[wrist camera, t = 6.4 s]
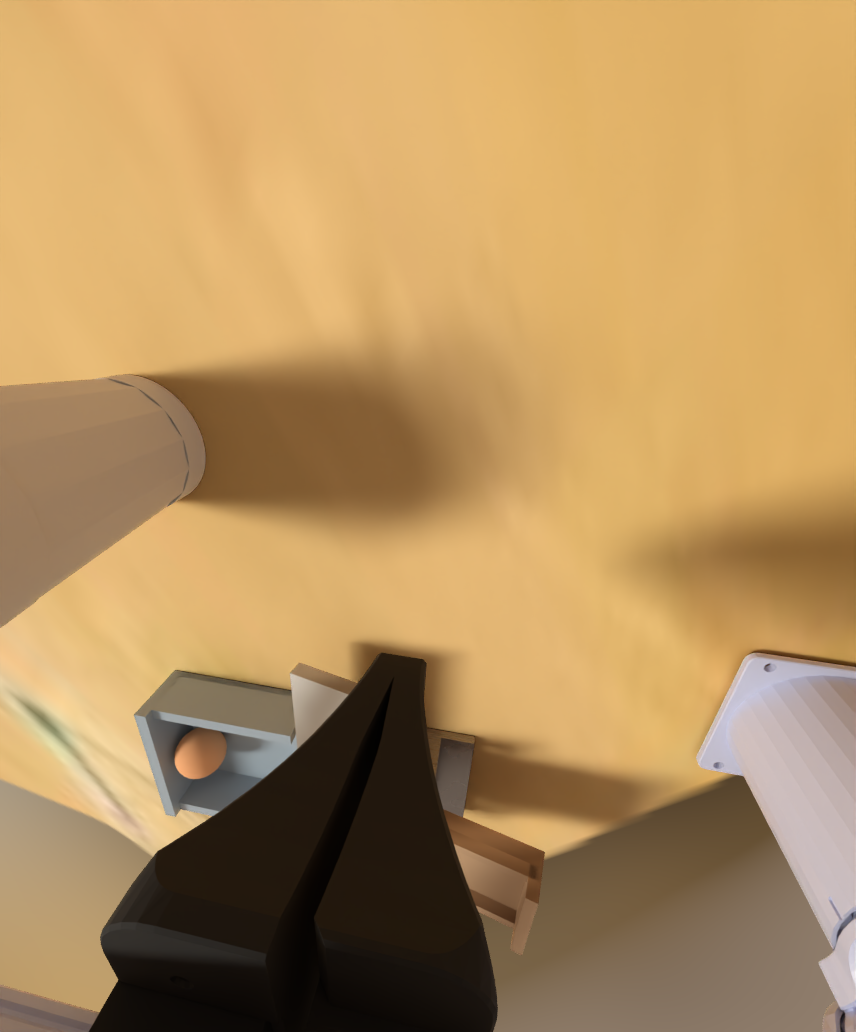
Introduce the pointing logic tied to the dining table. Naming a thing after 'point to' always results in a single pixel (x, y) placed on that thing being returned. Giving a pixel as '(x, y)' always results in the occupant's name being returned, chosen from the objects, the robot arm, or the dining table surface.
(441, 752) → the stand
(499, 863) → the seesaw
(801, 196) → the dining table surface
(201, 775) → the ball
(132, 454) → the cup
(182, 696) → the tray
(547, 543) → the dining table surface
